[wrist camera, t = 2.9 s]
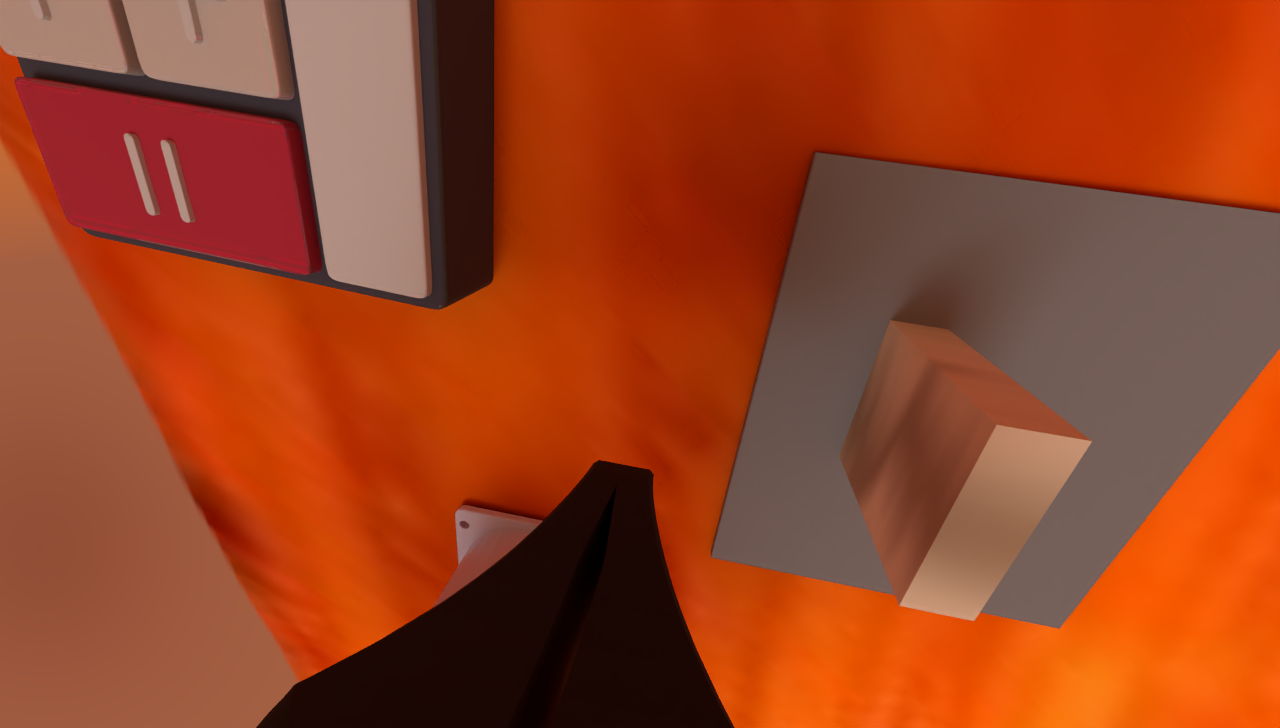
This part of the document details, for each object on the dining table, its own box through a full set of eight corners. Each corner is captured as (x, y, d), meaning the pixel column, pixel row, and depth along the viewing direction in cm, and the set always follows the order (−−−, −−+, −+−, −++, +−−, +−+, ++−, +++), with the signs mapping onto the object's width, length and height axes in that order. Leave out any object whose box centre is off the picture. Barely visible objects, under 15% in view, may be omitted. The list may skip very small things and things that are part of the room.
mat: (1053, 620, 22) (1059, 628, 21) (711, 550, 23) (711, 557, 23) (1359, 224, 14) (1375, 225, 14) (814, 152, 15) (816, 152, 15)
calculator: (-116, -186, 12) (407, -137, 10) (90, -105, 16) (497, -59, 14) (54, 238, 17) (432, 321, 15) (181, 222, 21) (495, 287, 19)
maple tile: (888, 465, 19) (974, 621, 13) (839, 456, 19) (898, 605, 13) (948, 329, 16) (1092, 441, 10) (890, 320, 17) (996, 424, 10)
